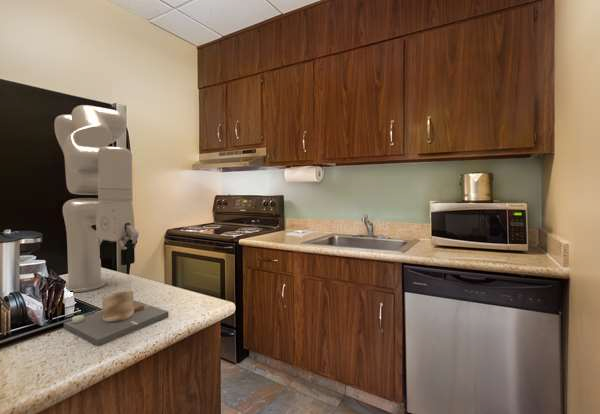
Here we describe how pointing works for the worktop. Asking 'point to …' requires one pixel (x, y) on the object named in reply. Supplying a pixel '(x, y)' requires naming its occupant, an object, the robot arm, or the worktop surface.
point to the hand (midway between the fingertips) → (116, 261)
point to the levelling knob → (119, 306)
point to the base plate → (113, 324)
